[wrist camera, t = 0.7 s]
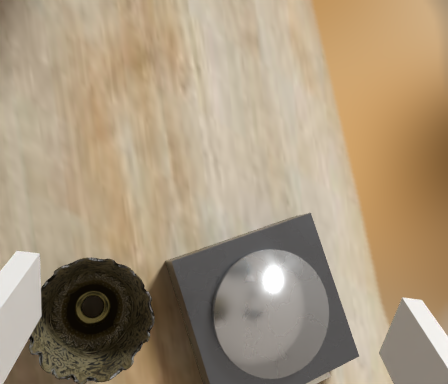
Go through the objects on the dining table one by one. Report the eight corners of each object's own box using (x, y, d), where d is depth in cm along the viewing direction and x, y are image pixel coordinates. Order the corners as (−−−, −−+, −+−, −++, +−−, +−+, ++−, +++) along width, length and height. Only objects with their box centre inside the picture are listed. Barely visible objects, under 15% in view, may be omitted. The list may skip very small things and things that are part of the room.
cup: (95, 376, 31) (95, 412, 24) (19, 315, 30) (-5, 333, 23) (158, 298, 34) (177, 308, 26) (90, 239, 33) (89, 233, 25)
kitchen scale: (165, 261, 34) (173, 261, 31) (294, 216, 39) (315, 211, 35) (215, 421, 34) (230, 440, 30) (342, 357, 38) (368, 367, 34)
